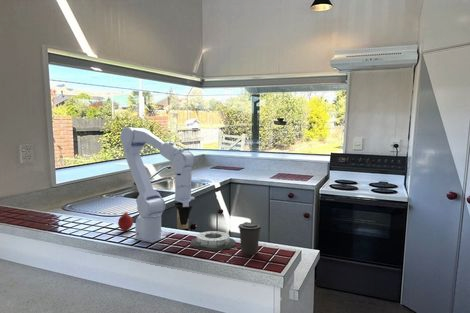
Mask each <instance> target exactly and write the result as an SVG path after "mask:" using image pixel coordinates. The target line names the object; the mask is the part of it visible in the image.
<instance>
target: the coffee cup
mask: <svg viewBox="0 0 470 313" xmlns="http://www.w3.org/2000/svg"><path fill="white" fill-rule="evenodd" d="M237 228H238V229H239V238H240V249H241V254H243V255H245V256H255V255H257V254H258V250H259V249H258V248H259V243H260V242H259V241H260V236H261V235H260V234H261V229H263V228H262V225H261V224H258V223H255V222H248V221H245V222H243V223H240V224H239V225H238V226H237Z"/></svg>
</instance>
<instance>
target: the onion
mask: <svg viewBox="0 0 470 313" xmlns="http://www.w3.org/2000/svg"><path fill="white" fill-rule="evenodd" d="M133 224H134V220H133V218H132V217H131V215H129V214H128V211H125V212H124V213H123V215H121V216H120V217H119V219H118V220H117V225H118V228H119V229H121V231H123V232H127V231H129V230H130V229H131V228H132V227H133Z"/></svg>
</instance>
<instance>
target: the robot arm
mask: <svg viewBox="0 0 470 313" xmlns="http://www.w3.org/2000/svg"><path fill="white" fill-rule="evenodd" d="M119 139H120V143H121V144H122V148H123V154H124V157H125V159H126V162H127V165H128V168H129V170H130V173H131V176H132V177H133V181H134V183H135V186H136V189H137V192H138V195H137V198H136V199H135V202H136V206H137V207H136V210H137V212H138V214H139V215H138V216H137V218H136V219H135V233H134V234H135V236H134V237H133V240H138V241H143V242H148V243H155V242H158V241H160V240H162V239H166V238H167V236H166V235H162V215H163V212H164V211H165V209H166V207H167V206H166V201H165V200H164V198H162V196H161V193H160V192H159V191H157V190H155V188H154V187H153V185H152V182H151V179H150V177H149V175H148V171H147V170H146V166H145V164H144V161H143V159H142V157H141V151H142V150H143V149H144V148H145V146H146V145H150V146H152V147H153V148H155V149H157V150H158V151H159V154H160V155H161V156H162V157H164V158H165V159H167V160H168V161H170V162H171V164H172V167H174V173H175V174H174V175H175V177H174V178H175V179H174V180H175V182H174V183H175V188H174V189H175V190H174V191H175V192H174V205H175V208H176V210H177V209H178V212H179V217H180V223H181V225H186V224H187V222H188V223H189V216H190V212H191V210H192V209H193V205H192V204H191V201H192V200H193V201H194V200H195V197H194V196H192V168H193V166H194V165H195V162H196V159H195V155H194V154H193V153H192V152H191V151H184V149H183V148H181V147H178V146H176V145H175V143H174V142H173V141H163V140H162V139H160V137H157V136H156V135H155V134H154V133H152V132H151V130H149V129H147V128H145V127H130V126H125V127H123V128H122V130H121V133H120V136H119Z"/></svg>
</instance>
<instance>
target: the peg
mask: <svg viewBox="0 0 470 313" xmlns="http://www.w3.org/2000/svg"><path fill="white" fill-rule="evenodd" d="M176 211H177V212H176V215H177V216H176V224H177V226H176V229H178V230H186V229H187V230H188V229H189V221H188V222H187V224H186V225H181V223H180V217H179V212H178V209H177V208H176Z"/></svg>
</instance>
